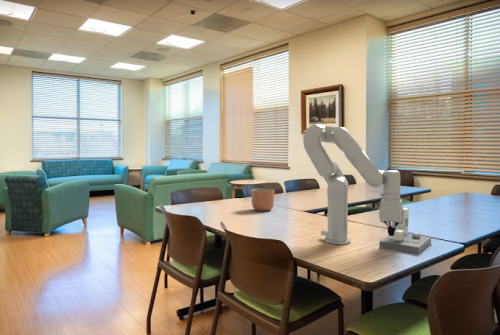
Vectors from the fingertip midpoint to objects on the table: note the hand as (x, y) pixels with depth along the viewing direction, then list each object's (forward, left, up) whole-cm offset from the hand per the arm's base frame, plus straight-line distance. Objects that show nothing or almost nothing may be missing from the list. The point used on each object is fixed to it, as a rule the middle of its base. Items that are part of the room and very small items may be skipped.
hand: (391, 235), depth 170 cm
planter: (-105, +38, -5) cm, 112 cm away
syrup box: (-2, +22, -5) cm, 23 cm away
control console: (+5, +4, -5) cm, 8 cm away
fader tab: (+4, 0, -1) cm, 4 cm away
